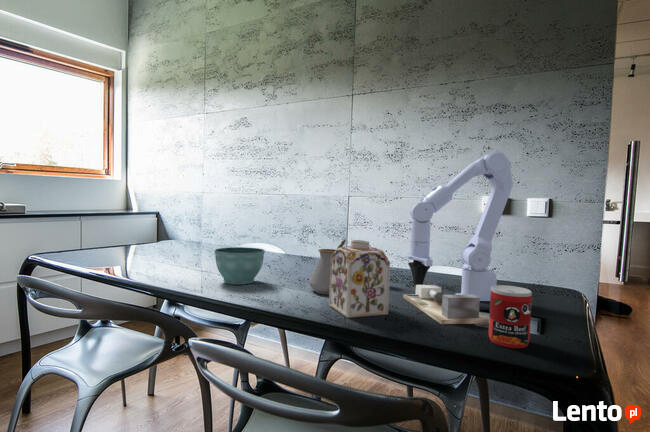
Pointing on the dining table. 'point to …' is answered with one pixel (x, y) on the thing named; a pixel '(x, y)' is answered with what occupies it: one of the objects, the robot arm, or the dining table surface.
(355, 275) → the decorative jar
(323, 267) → the coffee pot
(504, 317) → the canned food
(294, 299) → the dining table surface
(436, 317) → the bench
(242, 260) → the flower pot
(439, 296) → the gauge carriage
